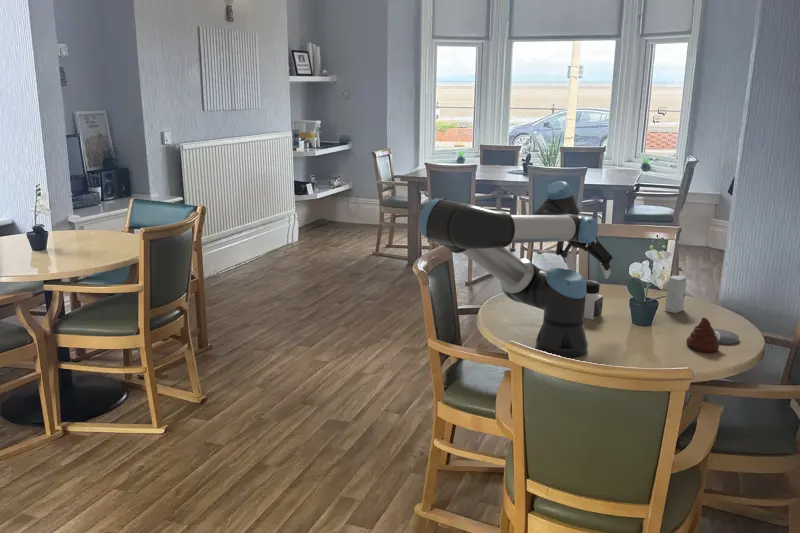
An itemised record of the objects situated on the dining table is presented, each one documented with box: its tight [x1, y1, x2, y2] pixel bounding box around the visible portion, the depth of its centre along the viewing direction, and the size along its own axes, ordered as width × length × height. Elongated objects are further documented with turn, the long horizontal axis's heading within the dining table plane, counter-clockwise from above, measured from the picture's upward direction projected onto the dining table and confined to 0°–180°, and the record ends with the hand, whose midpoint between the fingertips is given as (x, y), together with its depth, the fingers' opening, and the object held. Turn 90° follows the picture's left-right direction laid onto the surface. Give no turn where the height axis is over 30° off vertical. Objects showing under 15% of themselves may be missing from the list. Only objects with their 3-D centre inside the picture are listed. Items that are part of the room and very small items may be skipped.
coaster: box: [713, 328, 739, 345], centre depth 219 cm, size 11×11×1 cm
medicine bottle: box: [584, 280, 604, 321], centre depth 238 cm, size 7×7×12 cm
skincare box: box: [664, 274, 687, 314], centre depth 245 cm, size 6×4×12 cm
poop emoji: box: [686, 317, 721, 354], centre depth 210 cm, size 10×8×9 cm
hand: (590, 272), depth 233 cm, fingers open, 13 cm apart
